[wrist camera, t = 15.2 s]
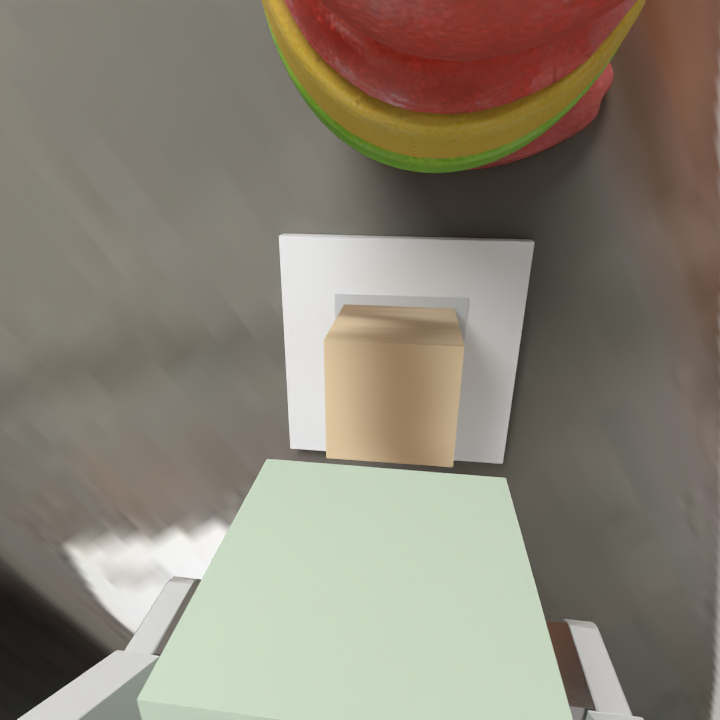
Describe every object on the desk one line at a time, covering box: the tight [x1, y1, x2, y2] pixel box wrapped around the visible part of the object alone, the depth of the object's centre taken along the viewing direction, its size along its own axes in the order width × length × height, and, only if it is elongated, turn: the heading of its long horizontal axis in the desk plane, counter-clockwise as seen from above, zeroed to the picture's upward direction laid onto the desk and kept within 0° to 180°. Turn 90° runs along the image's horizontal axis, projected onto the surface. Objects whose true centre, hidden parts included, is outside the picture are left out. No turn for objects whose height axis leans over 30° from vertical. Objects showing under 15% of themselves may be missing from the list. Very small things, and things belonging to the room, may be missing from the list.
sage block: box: [137, 459, 573, 720], centre depth 8 cm, size 5×5×5 cm
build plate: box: [279, 234, 535, 464], centre depth 23 cm, size 11×11×1 cm
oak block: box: [324, 304, 465, 467], centre depth 20 cm, size 5×5×5 cm
